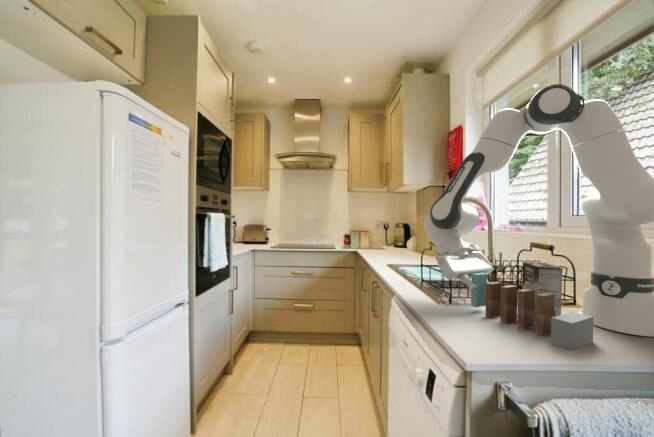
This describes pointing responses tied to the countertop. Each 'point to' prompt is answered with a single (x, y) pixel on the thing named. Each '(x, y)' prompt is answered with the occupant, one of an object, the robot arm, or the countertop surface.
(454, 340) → the countertop surface
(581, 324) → the end block
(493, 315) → the domino
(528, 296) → the domino
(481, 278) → the domino
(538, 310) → the domino
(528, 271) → the coffee box
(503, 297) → the domino
